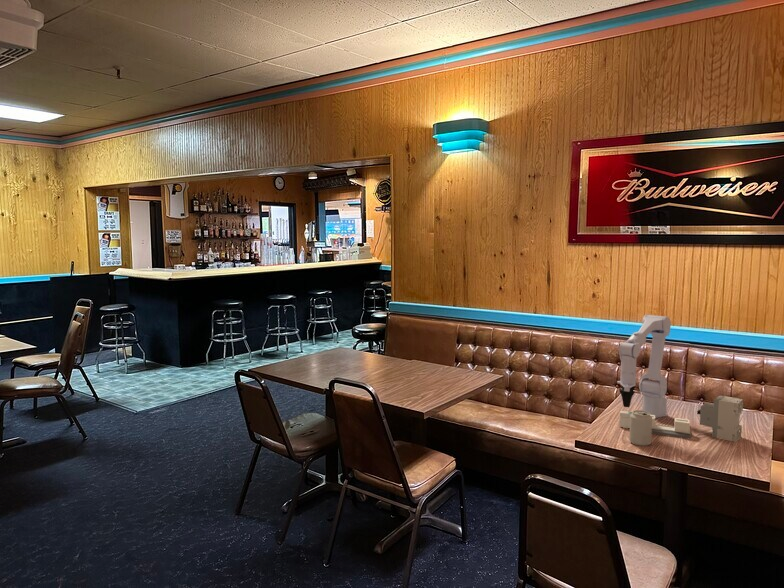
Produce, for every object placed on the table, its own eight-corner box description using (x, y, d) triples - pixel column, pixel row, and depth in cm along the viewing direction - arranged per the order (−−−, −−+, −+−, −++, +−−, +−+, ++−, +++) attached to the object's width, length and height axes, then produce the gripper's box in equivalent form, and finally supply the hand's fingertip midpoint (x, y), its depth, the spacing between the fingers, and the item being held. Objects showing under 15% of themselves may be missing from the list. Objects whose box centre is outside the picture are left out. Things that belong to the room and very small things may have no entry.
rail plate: (639, 431, 210) (639, 418, 210) (639, 424, 218) (640, 411, 218) (690, 438, 202) (691, 424, 202) (689, 431, 210) (690, 417, 210)
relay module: (619, 427, 215) (619, 412, 215) (619, 424, 219) (620, 409, 219) (632, 429, 213) (633, 414, 213) (633, 425, 217) (633, 411, 217)
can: (652, 448, 193) (653, 416, 192) (629, 445, 196) (631, 414, 195) (649, 441, 200) (651, 410, 199) (628, 438, 203) (629, 408, 202)
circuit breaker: (700, 428, 214) (702, 392, 213) (741, 437, 204) (743, 399, 203) (694, 432, 209) (696, 395, 208) (736, 442, 199) (738, 403, 197)
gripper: (618, 367, 223) (617, 398, 224) (616, 374, 210) (615, 407, 211) (637, 368, 219) (635, 400, 221) (635, 376, 206) (634, 410, 208)
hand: (626, 404), depth 216 cm, fingers open, 7 cm apart
